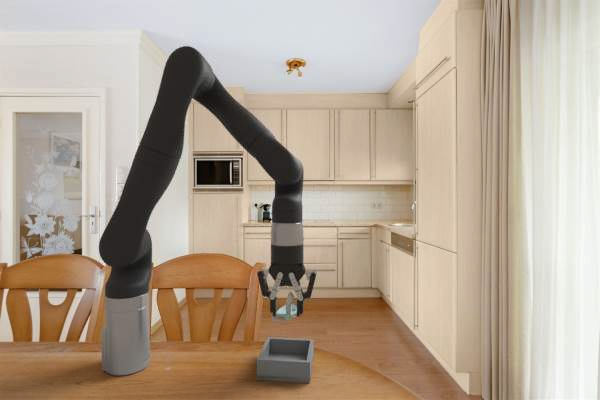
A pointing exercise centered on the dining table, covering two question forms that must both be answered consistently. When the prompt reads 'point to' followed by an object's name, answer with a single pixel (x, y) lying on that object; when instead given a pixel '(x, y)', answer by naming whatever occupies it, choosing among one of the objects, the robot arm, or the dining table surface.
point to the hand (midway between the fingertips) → (287, 314)
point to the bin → (286, 360)
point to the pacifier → (286, 310)
